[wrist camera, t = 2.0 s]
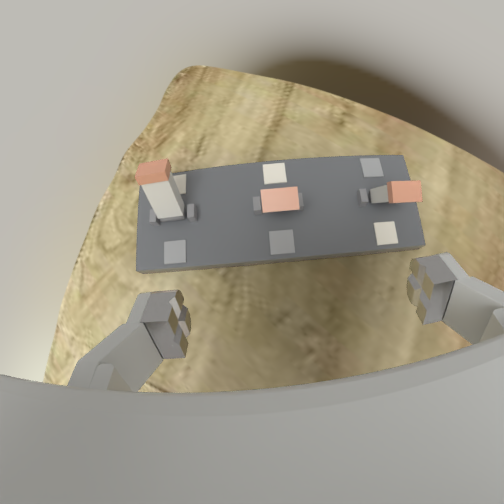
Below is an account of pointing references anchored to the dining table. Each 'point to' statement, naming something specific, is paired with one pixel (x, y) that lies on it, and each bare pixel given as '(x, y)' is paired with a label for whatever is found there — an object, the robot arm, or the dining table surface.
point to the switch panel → (279, 215)
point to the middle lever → (280, 199)
